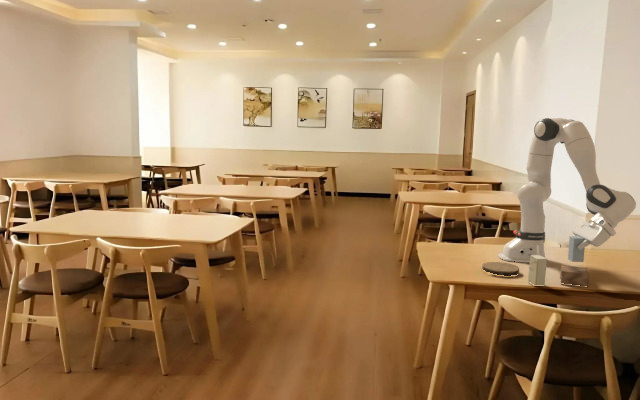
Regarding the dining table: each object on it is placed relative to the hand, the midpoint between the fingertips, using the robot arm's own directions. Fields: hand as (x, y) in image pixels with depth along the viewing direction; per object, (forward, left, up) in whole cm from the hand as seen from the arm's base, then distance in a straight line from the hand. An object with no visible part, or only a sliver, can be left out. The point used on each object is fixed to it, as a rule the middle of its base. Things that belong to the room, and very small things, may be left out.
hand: (575, 246), depth 212 cm
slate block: (+1, 0, -6) cm, 6 cm away
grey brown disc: (-26, +13, -16) cm, 34 cm away
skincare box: (-16, -5, -16) cm, 23 cm away
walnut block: (+1, 0, -16) cm, 16 cm away
